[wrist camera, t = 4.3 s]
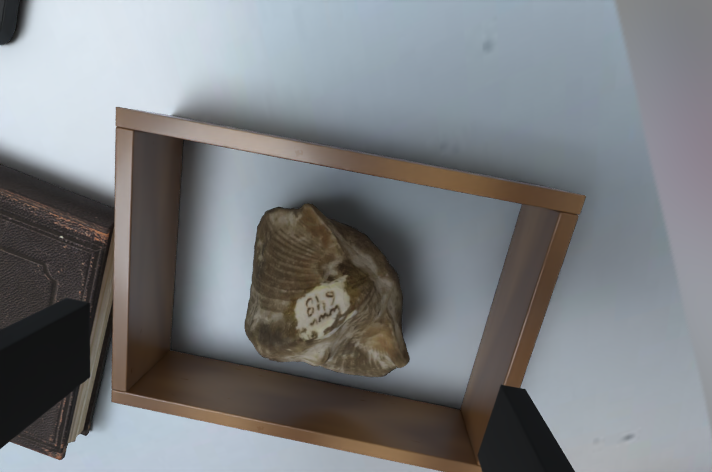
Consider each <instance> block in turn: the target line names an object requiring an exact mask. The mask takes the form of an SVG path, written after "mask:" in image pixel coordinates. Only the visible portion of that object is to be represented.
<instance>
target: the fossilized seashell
mask: <svg viewBox="0 0 712 472" xmlns="http://www.w3.org/2000/svg"><path fill="white" fill-rule="evenodd" d="M402 305H403V296H402V290H401V286H400V280H399V276H398V274H397V272H396V271H395V270H394V268H393V267H392V266H391V265H390V264H389V262H388V261H387V259H386V257H385V256H384V254H383V253H382V252H381V251H380V250H379V249H378V248H377V247H376V245H375V244H374V243H373V242H372V241H371V240H370V239H369V238H368V237H367V236H366V235H365V234H363V233H362V232H360V231H358V230H357V229H355V228H353V227H350V226H348V225H345V224H343V223H340V222H338V221H336V220H332V219H329V218H327V217H326V216H325V215H324V214H323V213H322V212H321V211H320V210H319V209H317V208H316V207H315V206H314V205H313V204H310V203H306V204H304V205H303V206H302V207H301V208H298V209H294V208H291V209H288V208H281V207H276V208H273V209H271V210H268V211H266V212H265V214H264V215H263V216H262V218H261V221H260V223H259V225H258V226H257V234H256V241H255V246H254V260H253V274H252V284H251V289H250V300H249V303H248V309H247V314H246V319H245V332H246V335H247V337H248V338H249V340H250V341H251V342H252V344H253V345H254V347H255V349H256V350H257V352H258V353H259V354H260V355H261V356H262V357H264V358H268V359H269V360H272V361H278V362H292V361H296V362H305V363H308V364H310V365H312V366H322V367H324V368H326V369H329V370H333V371H335V372H339V373H345V374H350V375H360V376H367V377H383V376H386V375H387V374H388V373H390V372H391V371H392V370H394V369H396V367H397V368H401V367H404V366H405V365H407V364H408V362H409V359H410V358H409V355H408V352H407V348H406V344H405V342H404V339H403V333H402V311H403V310H402Z"/></svg>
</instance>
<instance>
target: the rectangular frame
mask: <svg viewBox="0 0 712 472" xmlns="http://www.w3.org/2000/svg"><path fill="white" fill-rule="evenodd" d="M116 126H117V127H116V145H115V207H114V269H113V331H112V400H111V401H112V402H114V403H119V404H124V405H128V406H133V407H138V408H143V409H147V410H152V411H157V412H162V413H167V414H171V415H176V416H181V417H186V418H190V419H195V420H200V421H205V422H209V423H214V424H219V425H224V426H229V427H233V428H238V429H243V430H248V431H252V432H257V433H262V434H267V435H272V436H276V437H281V438H286V439H291V440H295V441H300V442H305V443H310V444H314V445H319V446H324V447H329V448H334V449H338V450H343V451H348V452H353V453H357V454H362V455H367V456H372V457H376V458H381V459H386V460H391V461H396V462H400V463H405V464H410V465H415V466H419V467H424V468H429V469H434V470H439V471H443V472H482V469H481V466H480V462H479V459H478V456H477V455H478V452H479V449H480V446H481V443H482V440H483V437H484V434H485V431H486V428H487V425H488V422H489V419H490V416H491V413H492V410H493V407H494V404H495V401H496V397H497V394H498V391H499V388H500V385H506V386H511V387H516V388H520V386H521V383H522V380H523V377H524V374H525V372H526V369H527V366H528V363H529V360H530V357H531V354H532V351H533V348H534V345H535V342H536V339H537V337H538V334H539V331H540V328H541V325H542V322H543V319H544V316H545V313H546V310H547V307H548V304H549V302H550V299H551V296H552V293H553V290H554V287H555V284H556V281H557V278H558V275H559V272H560V269H561V267H562V264H563V261H564V258H565V255H566V252H567V249H568V246H569V243H570V240H571V237H572V235H573V232H574V229H575V226H576V223H577V220H578V215H579V214H580V213H581V210H582V207H583V204H584V201H585V198H586V196H585V195H581V194H576V193H572V192H568V191H563V190H559V189H554V188H550V187H546V186H541V185H536V184H530V183H525V182H520V181H514V180H509V179H504V178H499V177H493V176H488V175H483V174H478V173H472V172H467V171H462V170H456V169H451V168H446V167H441V166H435V165H430V164H425V163H419V162H414V161H409V160H404V159H398V158H393V157H388V156H382V155H377V154H372V153H367V152H361V151H356V150H351V149H345V148H340V147H335V146H330V145H324V144H319V143H314V142H308V141H303V140H298V139H293V138H287V137H282V136H277V135H271V134H266V133H261V132H256V131H250V130H245V129H240V128H235V127H229V126H224V125H219V124H213V123H208V122H203V121H198V120H192V119H187V118H182V117H176V116H171V115H165V114H159V113H152V112H146V111H140V110H134V109H127V108H121V107H116ZM183 139H184V140H189V141H195V142H200V143H205V144H210V145H216V146H221V147H226V148H231V149H237V150H242V151H247V152H252V153H258V154H263V155H268V156H273V157H279V158H284V159H289V160H294V161H300V162H305V163H310V164H315V165H321V166H326V167H331V168H336V169H342V170H347V171H352V172H357V173H362V174H368V175H373V176H378V177H383V178H389V179H394V180H399V181H404V182H410V183H415V184H420V185H425V186H431V187H436V188H441V189H446V190H452V191H457V192H462V193H467V194H473V195H478V196H483V197H488V198H494V199H499V200H504V201H509V202H515V203H520V204H522V206H521V210H520V213H519V216H518V220H517V223H516V226H515V229H514V233H513V236H512V239H511V243H510V246H509V249H508V253H507V256H506V259H505V263H504V266H503V269H502V273H501V276H500V279H499V283H498V286H497V289H496V293H495V296H494V299H493V303H492V306H491V309H490V313H489V316H488V319H487V323H486V326H485V329H484V333H483V336H482V339H481V343H480V346H479V349H478V353H477V356H476V359H475V363H474V366H473V369H472V373H471V376H470V379H469V382H468V386H467V389H466V392H465V396H464V399H463V402H462V406H461V410H459V409H455V408H450V407H445V406H440V405H435V404H430V403H425V402H420V401H416V400H411V399H406V398H401V397H396V396H391V395H386V394H381V393H377V392H372V391H367V390H362V389H357V388H352V387H347V386H342V385H338V384H333V383H328V382H323V381H318V380H313V379H308V378H303V377H299V376H294V375H289V374H284V373H279V372H274V371H269V370H265V369H260V368H255V367H250V366H245V365H240V364H235V363H230V362H226V361H221V360H216V359H211V358H206V357H201V356H196V355H191V354H187V353H182V352H177V351H172V350H170V349H171V334H172V317H173V301H174V285H175V269H176V252H177V236H178V220H179V204H180V187H181V171H182V155H183Z"/></svg>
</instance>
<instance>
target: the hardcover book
mask: <svg viewBox="0 0 712 472" xmlns="http://www.w3.org/2000/svg"><path fill="white" fill-rule="evenodd" d="M113 269H114V208H112V207H109V206H107V205H104V204H101V203H99V202H96V201H94V200H91V199H88V198H86V197H83V196H81V195H78V194H76V193H73V192H70V191H68V190H65V189H63V188H60V187H57V186H55V185H52V184H50V183H47V182H45V181H42V180H39V179H37V178H34V177H32V176H29V175H26V174H24V173H21V172H19V171H16V170H14V169H11V168H8V167H6V166H3V165H1V164H0V330H1V329H3V328H5V327H7V326H9V325H11V324H13V323H15V322H18V321H20V320H22V319H24V318H26V317H28V316H30V315H32V314H34V313H36V312H38V311H40V310H42V309H44V308H47V307H49V306H51V305H53V304H55V303H57V302H59V301H61V300H63V299H65V298H69V299H74V300H80V301H85V302H90V378H89V379H87V380H86V381H85V382H84V383H82V384H81V385H80V386H79V387H77V388H76V389H75V390H74V391H72V392H71V393H70V394H68V395H67V396H66V397H65V398H63V399H62V400H61V401H60V402H58V403H57V404H56V405H55V406H53V407H52V408H51V409H50V410H48V411H47V412H46V413H45V414H43V415H42V416H41V417H40V418H38V419H37V420H36V421H35V422H33V423H32V424H31V425H30V426H28V427H27V428H26V429H25V430H23V431H22V432H21V433H20V434H18V435H17V436H16V437H14V438H13V439H12V440H11V441H9V442H12V443H15V444H18V445H20V446H23V447H26V448H28V449H31V450H34V451H37V452H39V453H42V454H45V455H47V456H50V457H53V458H56V459H58V460H62V459H63V458H64V457H65V453H66V448H67V446H68V443H70V442H74V441H75V440H76V437H77V435H79V434H83V435H85V436H86V435H87V434H88V433H89V431H90V426H91V422H92V418H93V413H94V409H95V405H96V400H97V396H98V392H99V387H100V383H101V379H102V374H103V370H104V366H105V361H106V357H107V353H108V348H109V344H110V340H111V336H112V331H113Z"/></svg>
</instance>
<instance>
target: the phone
mask: <svg viewBox="0 0 712 472" xmlns="http://www.w3.org/2000/svg"><path fill="white" fill-rule="evenodd" d="M19 1H20V0H0V45H2V44H5V43H7V42H8V41H9V40H10V39H11V38H12V36H13V34H14V31H15V26H16V20H17V14H18V7H19Z"/></svg>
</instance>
